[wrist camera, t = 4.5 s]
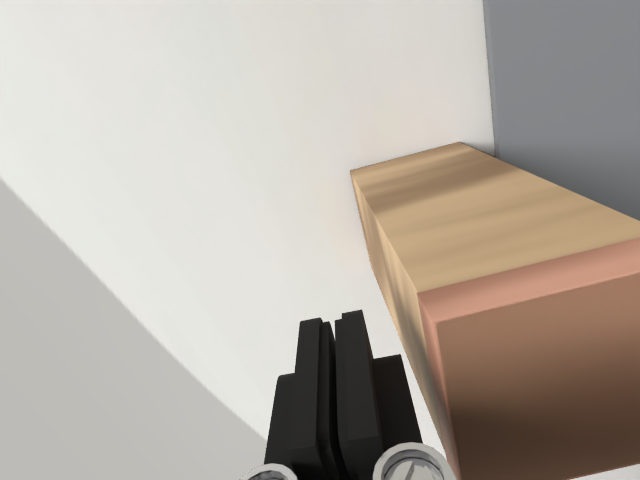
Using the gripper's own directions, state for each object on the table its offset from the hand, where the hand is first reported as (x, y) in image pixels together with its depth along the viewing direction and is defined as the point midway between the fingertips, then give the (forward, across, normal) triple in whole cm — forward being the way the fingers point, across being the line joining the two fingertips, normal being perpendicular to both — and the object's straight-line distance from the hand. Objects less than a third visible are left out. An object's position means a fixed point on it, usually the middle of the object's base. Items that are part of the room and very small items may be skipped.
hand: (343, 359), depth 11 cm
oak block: (+10, -4, 0) cm, 10 cm away
